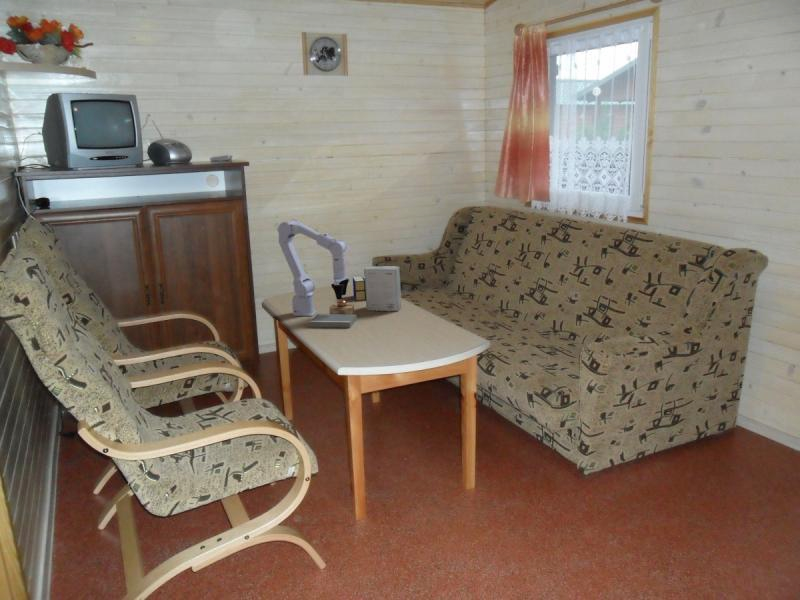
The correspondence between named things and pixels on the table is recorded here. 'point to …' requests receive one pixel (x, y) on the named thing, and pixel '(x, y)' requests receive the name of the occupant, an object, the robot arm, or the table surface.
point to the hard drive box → (382, 288)
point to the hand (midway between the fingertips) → (341, 297)
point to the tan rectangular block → (342, 309)
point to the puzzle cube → (359, 288)
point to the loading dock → (333, 320)
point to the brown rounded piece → (341, 303)
